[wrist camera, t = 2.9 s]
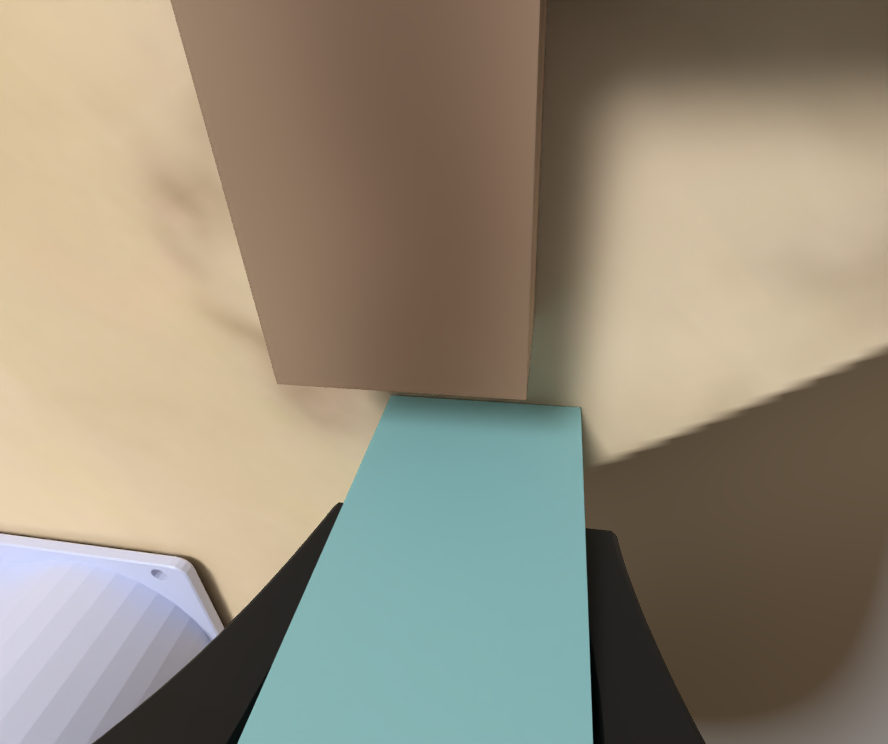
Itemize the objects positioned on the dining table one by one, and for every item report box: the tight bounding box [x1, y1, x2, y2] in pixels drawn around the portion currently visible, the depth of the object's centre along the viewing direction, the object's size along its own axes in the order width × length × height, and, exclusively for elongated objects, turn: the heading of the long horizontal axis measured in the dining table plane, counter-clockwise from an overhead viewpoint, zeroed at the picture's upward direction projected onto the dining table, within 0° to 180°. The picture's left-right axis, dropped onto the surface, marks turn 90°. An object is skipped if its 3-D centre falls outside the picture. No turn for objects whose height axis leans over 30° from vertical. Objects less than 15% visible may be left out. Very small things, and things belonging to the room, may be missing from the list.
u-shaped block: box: [171, 0, 547, 400], centre depth 6 cm, size 14×9×2 cm, turn 93°
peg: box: [238, 395, 593, 744], centre depth 9 cm, size 4×4×8 cm
